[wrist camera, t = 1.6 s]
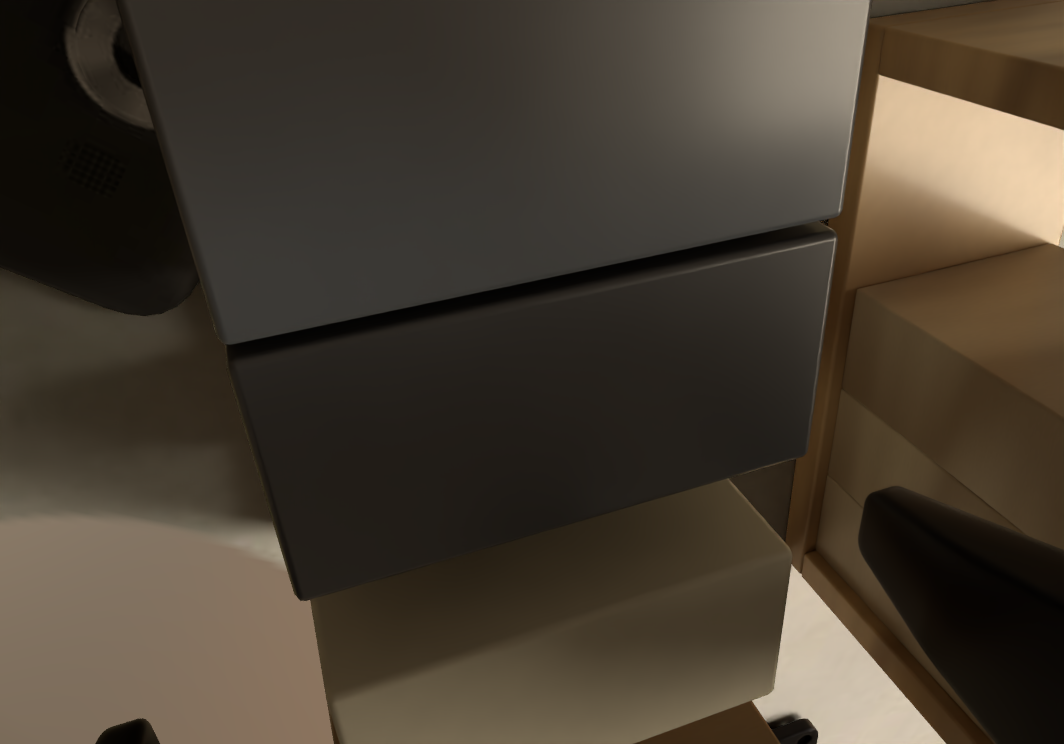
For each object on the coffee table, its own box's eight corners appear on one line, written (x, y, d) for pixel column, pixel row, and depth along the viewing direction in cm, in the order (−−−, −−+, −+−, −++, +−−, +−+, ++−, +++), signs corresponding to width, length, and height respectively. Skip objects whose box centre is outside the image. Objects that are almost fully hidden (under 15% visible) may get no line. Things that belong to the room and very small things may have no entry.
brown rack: (958, 498, 23) (1246, 734, 17) (782, 554, 22) (1023, 835, 15) (1098, -16, 16) (1675, 59, 10) (853, 19, 15) (1342, 131, 9)
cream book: (566, 400, 16) (776, 694, 10) (300, 467, 15) (369, 844, 9) (561, 285, 15) (797, 551, 9) (268, 348, 13) (325, 702, 8)
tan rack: (570, 457, 18) (781, 784, 11) (301, 529, 16) (373, 947, 10) (527, -449, 10) (1071, -962, 4) (26, -458, 9) (-380, -1270, 3)
